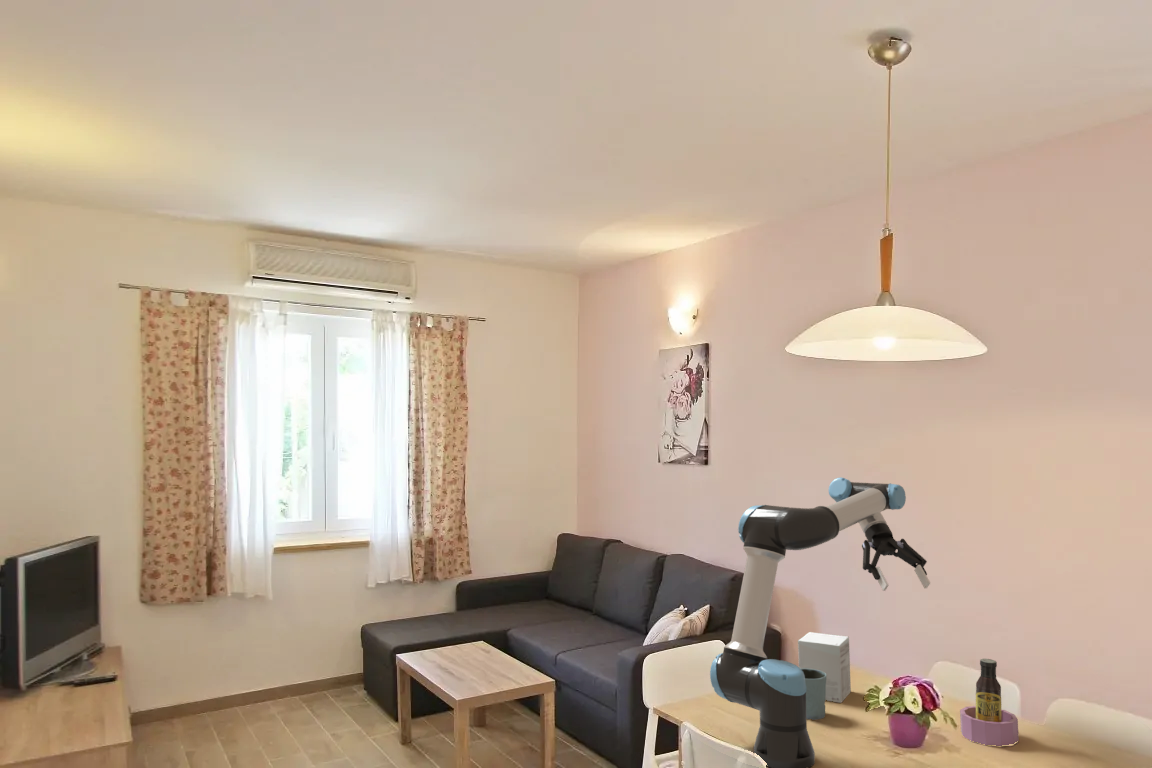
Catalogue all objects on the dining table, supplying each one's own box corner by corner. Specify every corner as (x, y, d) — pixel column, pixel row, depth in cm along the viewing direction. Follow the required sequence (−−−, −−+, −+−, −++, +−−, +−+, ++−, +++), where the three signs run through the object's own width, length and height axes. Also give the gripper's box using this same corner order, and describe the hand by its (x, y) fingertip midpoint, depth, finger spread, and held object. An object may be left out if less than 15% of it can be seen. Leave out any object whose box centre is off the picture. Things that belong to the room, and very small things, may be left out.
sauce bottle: (975, 736, 215) (972, 661, 216) (976, 728, 221) (973, 655, 222) (1003, 740, 212) (999, 664, 213) (1003, 732, 218) (999, 658, 219)
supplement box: (851, 691, 255) (850, 636, 257) (841, 703, 244) (839, 645, 245) (810, 685, 262) (808, 631, 264) (798, 696, 251) (797, 640, 252)
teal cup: (823, 709, 239) (822, 668, 240) (831, 721, 229) (829, 678, 230) (789, 708, 240) (788, 668, 241) (795, 720, 230) (794, 678, 231)
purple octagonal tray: (1022, 749, 208) (1021, 725, 208) (965, 743, 212) (964, 720, 212) (1012, 730, 220) (1011, 708, 221) (958, 725, 225) (957, 704, 225)
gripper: (906, 535, 254) (939, 592, 238) (835, 538, 249) (863, 596, 233) (916, 520, 249) (950, 577, 233) (843, 522, 244) (873, 581, 228)
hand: (906, 586), depth 233 cm, fingers open, 13 cm apart
